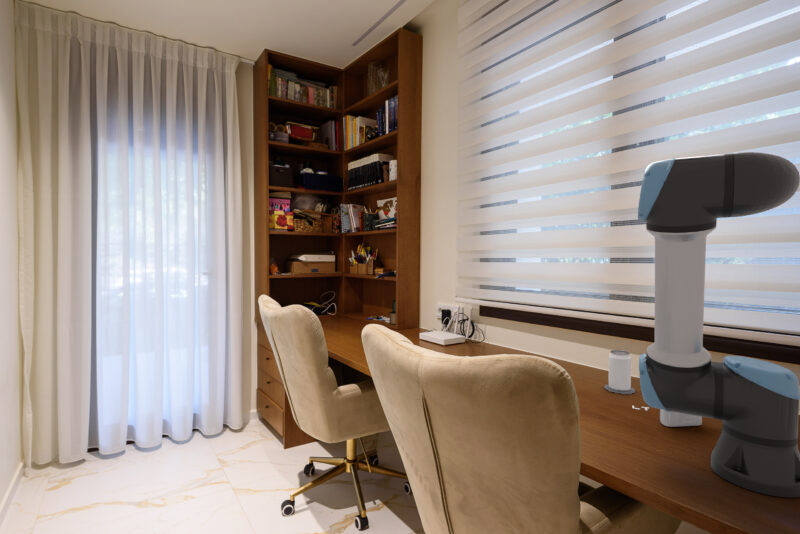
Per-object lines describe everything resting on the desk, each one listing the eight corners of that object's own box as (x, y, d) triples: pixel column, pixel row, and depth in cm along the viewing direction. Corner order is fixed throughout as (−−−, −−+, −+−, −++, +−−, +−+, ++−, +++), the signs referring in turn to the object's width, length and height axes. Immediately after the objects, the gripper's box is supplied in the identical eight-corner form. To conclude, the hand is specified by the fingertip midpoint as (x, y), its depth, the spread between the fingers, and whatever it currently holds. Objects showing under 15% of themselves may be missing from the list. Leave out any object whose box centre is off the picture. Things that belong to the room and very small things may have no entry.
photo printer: (691, 419, 115) (692, 374, 115) (705, 426, 111) (706, 379, 111) (656, 422, 114) (657, 376, 113) (669, 428, 110) (670, 381, 109)
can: (610, 390, 138) (610, 353, 137) (606, 384, 144) (607, 349, 144) (632, 392, 136) (633, 355, 135) (628, 386, 142) (628, 350, 142)
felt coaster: (637, 395, 134) (637, 394, 134) (605, 392, 138) (605, 390, 138) (633, 387, 143) (633, 385, 143) (603, 384, 146) (603, 382, 146)
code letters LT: (650, 410, 122) (650, 410, 122) (633, 408, 123) (633, 408, 123) (649, 407, 124) (649, 407, 124) (631, 405, 126) (631, 405, 126)
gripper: (713, 221, 110) (711, 303, 111) (688, 226, 133) (686, 294, 134) (679, 222, 113) (677, 302, 114) (660, 227, 136) (659, 293, 137)
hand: (682, 298), depth 124 cm, fingers open, 13 cm apart
